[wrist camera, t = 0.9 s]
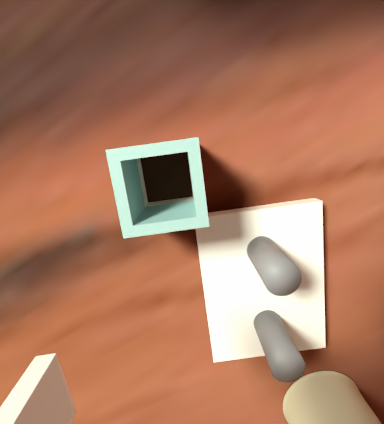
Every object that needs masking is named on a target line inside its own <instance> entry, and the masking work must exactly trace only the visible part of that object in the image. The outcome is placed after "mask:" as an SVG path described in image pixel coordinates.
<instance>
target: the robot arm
mask: <svg viewBox="0 0 384 424" xmlns="http://www.w3.org/2000/svg"><path fill="white" fill-rule="evenodd" d="M75 413H76V409H75V406H74V404H73V401H72V398H71V395H70V392H69V389H68V386H67V383H66V380H65V377H64V374H63V372H62V369H61V366H60V363H59V360H58V357H57V354H56V353H54V354H48V355H42V356H36V357H35V358H34V360H33V361H32V362H31V364H30V365H29V367H28V368H27V370H26V371H25V373H24V374H23V375H22V377H21V378H20V380H19V381H18V383H17V384H16V386H15V387H14V388H13V390H12V391H11V393H10V394H9V396H8V397H7V398H6V400H5V401H4V403H3V404H2V406H1V407H0V424H71V423H72V421H73V418H74V416H75Z"/></svg>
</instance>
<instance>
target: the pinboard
mask: <svg viewBox="0 0 384 424" xmlns="http://www.w3.org/2000/svg"><path fill="white" fill-rule="evenodd" d="M208 218H209V226H210V227H203V228H196V229H195V230H196V237H197V244H198V252H199V259H200V266H201V273H202V281H203V288H204V295H205V303H206V310H207V317H208V325H209V332H210V339H211V347H212V354H213V361H214V362H220V361H228V360H236V359H243V358H251V357H258V356H266V359H267V361H268V364H269V367H270V369H271V372H272V374H273V376H274V377H275V378H276V379H277V380H279V381H281V382H292V381H295V380H297V379H299V378H300V377H301V376H302V375H303V373H304V371H305V367H306V366H305V362H304V360H303V358H302V356H301V354H300V353H299V351H303V350H311V349H318V348H326V340H325V296H324V251H323V206H322V201H321V200H319V199H316V198H312V199H304V200H297V201H290V202H282V203H275V204H268V205H260V206H253V207H246V208H238V209H231V210H224V211H216V212H209V213H208Z"/></svg>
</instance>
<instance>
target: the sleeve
mask: <svg viewBox="0 0 384 424" xmlns="http://www.w3.org/2000/svg"><path fill="white" fill-rule="evenodd" d="M182 152H187V155H188V163H189V170H190V177H191V185H192V192H193V196H192V197H185V198H178V199H171V200H163V201H156V202H149V203H148V200H147V194H146V188H145V182H144V177H143V171H142V165H141V160H140V158H145V157H153V156H160V155H167V154H174V153H182ZM106 155H107V160H108V165H109V170H110V175H111V180H112V185H113V190H114V195H115V200H116V205H117V209H118V214H119V219H120V224H121V229H122V234H123V238H130V237H137V236H144V235H152V234H159V233H167V232H174V231H181V230H189V229H196V228H203V227H210V226H209V218H208V210H207V202H206V194H205V186H204V178H203V170H202V162H201V154H200V146H199V138H198V137H196V138H189V139H182V140H175V141H167V142H160V143H153V144H146V145H138V146H131V147H124V148H117V149H109V150H106Z"/></svg>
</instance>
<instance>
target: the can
mask: <svg viewBox="0 0 384 424" xmlns="http://www.w3.org/2000/svg"><path fill="white" fill-rule="evenodd" d="M283 413H284V416H285V418H286V420H287V422H288V423H289V424H381V422H380V421H379V419H378V418H377V416H376V415H375V414H374V412H373V411H372V409H371V408H370V407H369V405H368V404H367V402H366V401H365V399H364V398H363V396H362V395H361V393H360V392H359V389H358V387H357V386H356V384H355V383H354V382H353V381H352V380H351V379H350V378H349V377H347V376H346V375H344V374H342V373H339V372H335V371H317V372H313V373H310V374H307V375H305V376H303V377H301V378H300V379H298V380H297V381H296V382H294V383H293V384H292V385H291V387H290V388H289V389H288V391H287V392H286V394H285V397H284V400H283Z"/></svg>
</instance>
